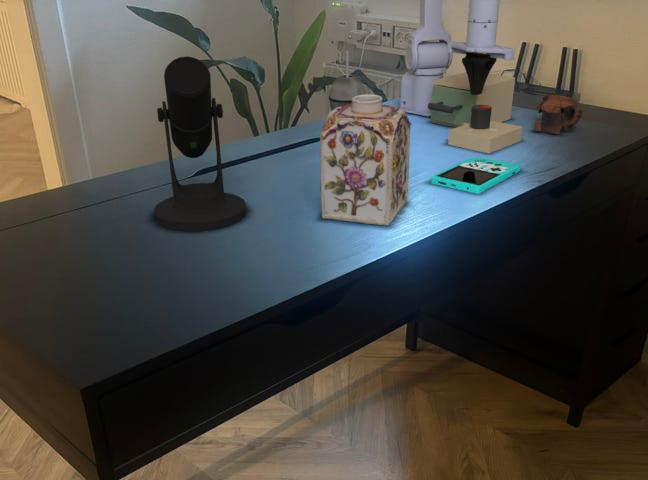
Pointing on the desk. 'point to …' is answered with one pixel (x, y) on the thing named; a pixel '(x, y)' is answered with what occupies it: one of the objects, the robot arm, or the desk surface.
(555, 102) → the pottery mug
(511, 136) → the block
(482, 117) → the timer dial
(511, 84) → the drawer box
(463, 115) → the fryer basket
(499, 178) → the handheld game console
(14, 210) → the desk surface
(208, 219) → the microphone
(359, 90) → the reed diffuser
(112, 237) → the desk surface
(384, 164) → the decorative jar
